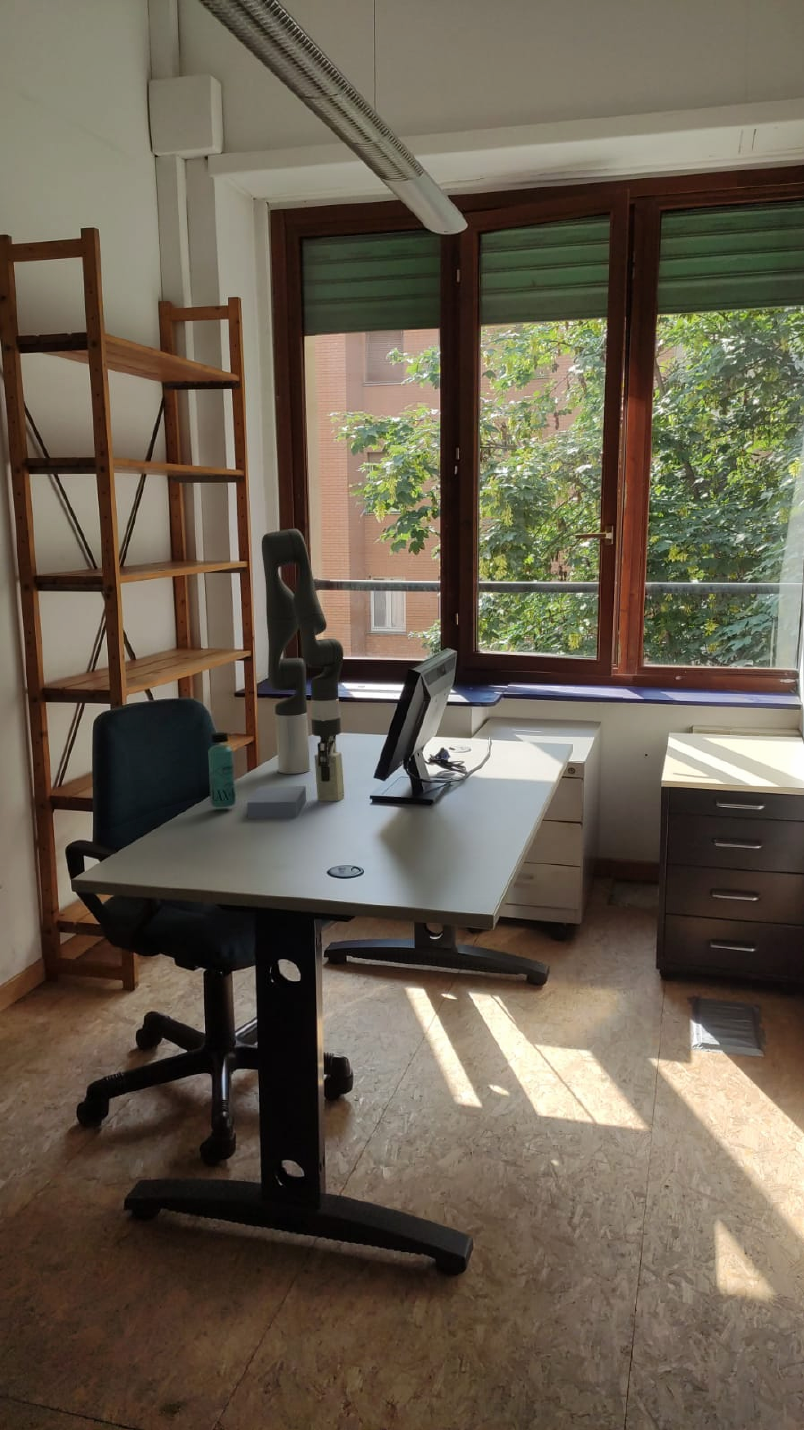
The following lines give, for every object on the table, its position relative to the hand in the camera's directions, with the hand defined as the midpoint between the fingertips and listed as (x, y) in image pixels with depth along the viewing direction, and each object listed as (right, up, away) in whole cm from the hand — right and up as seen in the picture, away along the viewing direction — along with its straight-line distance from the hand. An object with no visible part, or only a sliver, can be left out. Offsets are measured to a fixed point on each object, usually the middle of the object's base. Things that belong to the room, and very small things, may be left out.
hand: (328, 777), depth 275 cm
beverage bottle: (-26, -8, -6) cm, 28 cm away
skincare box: (0, -6, +1) cm, 6 cm away
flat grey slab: (-12, -8, -7) cm, 16 cm away
